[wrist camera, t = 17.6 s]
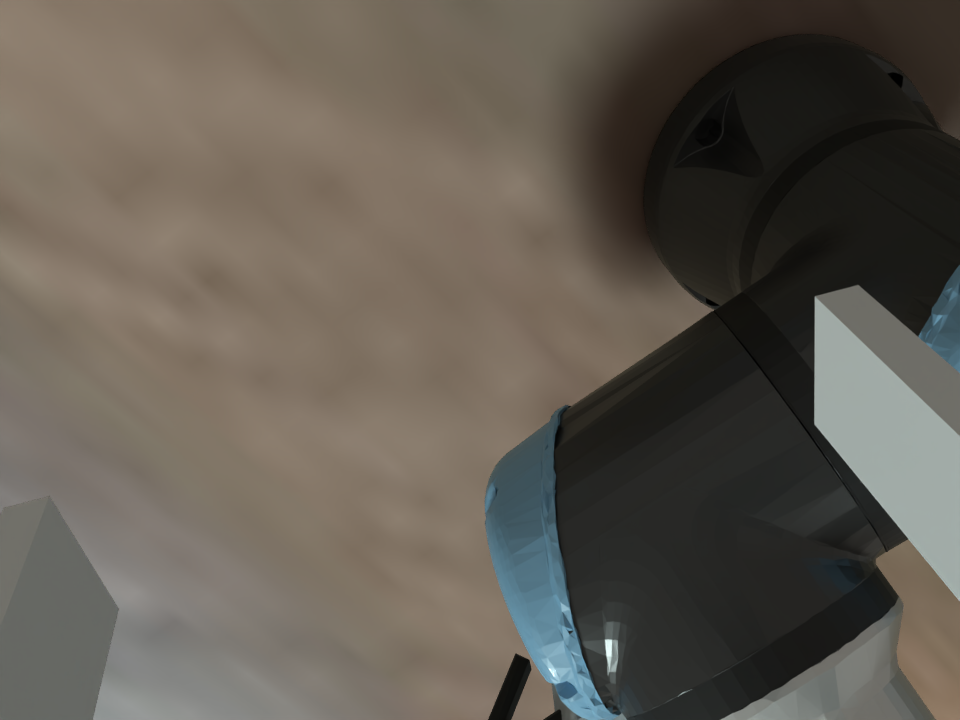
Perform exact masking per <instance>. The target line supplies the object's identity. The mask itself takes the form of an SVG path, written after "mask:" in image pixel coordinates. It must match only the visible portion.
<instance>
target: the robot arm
mask: <svg viewBox="0 0 960 720" xmlns="http://www.w3.org/2000/svg"><path fill="white" fill-rule="evenodd" d="M644 214H645V221H646V226H647V230H648V234H649V237H650V240H651V242H652V245H653V247H654V249H655V251H656V253H657V255H658V256H659V258H660V260H661V261H662V263H663V264H664V265H665V266H666V268H667V269H668V270H669V272H670V273H671V274H672V275H673V277H674V278H675V279H676V280H677V282H678V283H679V284H680V285H681V286H682V287H683V288H684V289H685V290H686V291H687V292H688V293H689V294H690V295H691V296H693V297H694V298H695V299H697V300H698V301H700V302H701V303H703V304H704V305H706V306H708V307H710V308H712V309H714V311H713V312H710V313H709V314H707V315H706V316H705V317H703V318H702V319H700V320H699V321H697V322H696V323H695V324H693V325H692V326H690V327H689V328H687V329H686V330H685V331H683V332H682V333H680V334H679V335H677V336H676V337H674V338H673V339H671V340H670V341H668V342H667V343H665V344H664V345H662V346H661V347H659V348H658V349H656V350H655V351H653V352H652V353H650V354H649V355H647V356H646V357H644V358H643V359H641V360H640V361H638V362H637V363H635V364H634V365H632V366H631V367H629V368H628V369H626V370H625V371H623V372H622V373H620V374H619V375H617V376H616V377H614V378H613V379H611V380H610V381H609V382H607V383H606V384H604V385H603V386H601V387H600V388H598V389H597V390H595V391H594V392H592V393H591V394H589V395H588V396H586V397H585V398H583V399H582V400H580V401H579V402H577V403H576V404H574V405H573V406H568V405H565V406H563V407H561V408H559V409H558V410H557V411H555V412H554V414H553V415H552V416H551V419H550V421H549V422H548V423H547V424H545V425H544V426H543V427H541V428H540V429H539V430H538V431H536V432H535V433H534V434H532V435H531V436H530V437H528V438H527V439H526V440H524V441H523V442H522V443H520V444H519V445H518V446H516V447H515V448H514V449H512V450H511V451H509V452H508V453H507V454H506V455H505V456H504V457H503V458H502V459H501V460H500V461H499V462H498V463H497V465H496V466H495V468H494V470H493V472H492V474H491V476H490V478H489V481H488V485H487V489H486V496H485V514H486V521H485V525H486V533H487V539H488V545H489V549H490V554H491V558H492V562H493V566H494V569H495V572H496V576H497V579H498V582H499V585H500V588H501V591H502V594H503V596H504V599H505V602H506V604H507V607H508V609H509V612H510V614H511V617H512V619H513V621H514V623H515V626H516V628H517V630H518V632H519V634H520V636H521V638H522V640H523V642H524V644H525V646H526V648H527V650H528V652H529V654H530V656H531V658H532V659H533V661H534V663H535V665H536V666H537V668H538V669H539V671H540V673H541V674H542V675H543V677H544V678H545V679H546V681H547V682H549V683H553V684H554V686H555V688H556V691H557V693H558V695H559V698H560V700H561V701H562V702H563V703H564V704H565V705H566V706H567V707H568V708H569V709H570V710H571V711H572V712H574V713H575V714H577V715H578V716H580V717H582V718H585V719H588V720H600V719H604V720H613V719H614V718H616V717H617V716H619V715H620V714H621V713H622V714H623V715H624V717H626V719H627V720H936V719H935V718H934V716H933V715H932V714H931V712H930V711H929V709H928V708H927V706H926V705H925V704H924V702H923V701H922V699H921V698H920V696H919V695H918V694H917V692H916V691H915V689H914V688H913V686H912V685H911V684H910V682H909V681H908V679H907V678H906V676H905V675H904V674H903V672H902V671H901V669H900V668H899V666H898V660H897V652H896V651H897V645H898V638H899V632H900V626H901V620H902V613H903V607H904V605H903V602H902V600H901V599H900V597H899V595H897V593H896V592H895V591H894V589H893V588H892V586H891V585H890V584H889V582H888V581H887V579H886V578H885V577H884V575H883V574H882V572H881V571H880V570H879V568H878V567H877V565H876V558H878V557H879V556H881V555H882V554H884V553H885V552H888V551H889V550H890V549H892V548H894V547H896V546H897V545H899V544H901V543H902V542H904V541H906V540H907V539H909V540H910V541H911V543H912V544H913V545H914V546H915V547H916V549H917V550H918V551H919V552H920V554H921V555H922V556H923V557H924V558H925V560H926V561H927V562H928V563H929V565H930V566H931V567H932V568H933V569H934V571H935V572H936V573H937V574H938V575H939V577H940V578H941V579H942V580H943V582H944V583H945V584H946V585H947V586H948V588H949V589H950V590H951V591H952V593H953V594H954V595H955V596H956V597H957V599H958V600H959V601H960V140H958V139H956V138H954V137H952V136H950V135H948V134H946V133H944V132H943V131H942V130H941V128H940V126H939V125H938V123H937V121H936V120H935V118H934V117H933V115H932V113H931V112H930V110H929V108H928V107H927V105H926V104H925V103H924V101H923V99H922V97H921V95H920V94H919V92H918V91H917V89H916V88H915V86H914V85H913V83H912V82H911V81H910V80H909V78H908V77H907V76H906V75H905V74H904V73H903V72H902V71H901V70H899V69H898V68H897V67H896V66H895V65H893V64H892V63H891V62H890V61H888V60H887V59H885V58H884V57H882V56H880V55H878V54H876V53H874V52H872V51H870V50H868V49H865V48H863V47H861V46H858V45H856V44H854V43H851V42H849V41H846V40H843V39H840V38H836V37H831V36H825V35H813V34H805V35H793V36H786V37H781V38H776V39H772V40H769V41H766V42H763V43H760V44H757V45H755V46H752V47H750V48H748V49H746V50H744V51H742V52H740V53H738V54H736V55H734V56H733V57H731V58H729V59H728V60H726V61H725V62H723V63H722V64H720V65H719V66H717V67H716V68H715V69H713V70H712V71H711V72H710V73H708V74H707V75H706V76H705V77H704V78H703V79H701V80H700V81H699V82H698V83H697V84H696V85H695V86H694V87H693V88H692V89H691V90H690V91H689V92H688V94H687V95H686V96H685V97H684V98H683V100H682V101H681V102H680V103H679V105H678V106H677V107H676V109H675V110H674V111H673V113H672V114H671V116H670V118H669V119H668V121H667V122H666V124H665V126H664V128H663V130H662V131H661V133H660V135H659V138H658V140H657V142H656V144H655V147H654V149H653V152H652V155H651V158H650V161H649V165H648V169H647V173H646V179H645V187H644ZM118 610H119V608H118V607H117V605H116V604H115V602H114V600H113V599H112V597H111V595H110V594H109V592H108V591H107V589H106V587H105V586H104V584H103V582H102V581H101V579H100V577H99V576H98V574H97V573H96V571H95V569H94V568H93V566H92V564H91V563H90V561H89V560H88V558H87V556H86V555H85V553H84V551H83V550H82V548H81V546H80V545H79V543H78V542H77V540H76V538H75V537H74V535H73V533H72V532H71V530H70V529H69V527H68V525H67V524H66V522H65V520H64V519H63V517H62V515H61V514H60V512H59V511H58V509H57V507H56V506H55V504H54V502H53V501H52V499H51V498H50V496H48V497H44V498H40V499H36V500H32V501H28V502H25V503H21V504H17V505H13V506H9V507H5V508H3V511H2V513H1V515H0V720H93V716H94V712H95V707H96V703H97V699H98V695H99V690H100V686H101V682H102V678H103V673H104V669H105V665H106V661H107V656H108V652H109V648H110V644H111V639H112V635H113V631H114V627H115V623H116V618H117V614H118Z"/></svg>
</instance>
